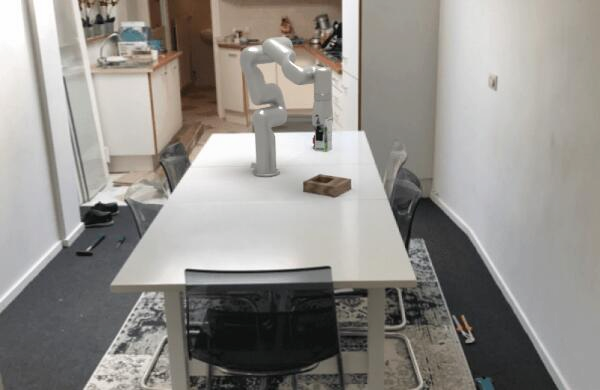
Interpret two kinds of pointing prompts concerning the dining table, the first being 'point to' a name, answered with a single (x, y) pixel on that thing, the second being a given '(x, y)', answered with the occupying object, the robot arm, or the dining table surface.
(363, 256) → the dining table surface
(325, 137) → the syrup box
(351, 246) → the dining table surface
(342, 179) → the frame
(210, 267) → the dining table surface
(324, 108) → the robot arm
